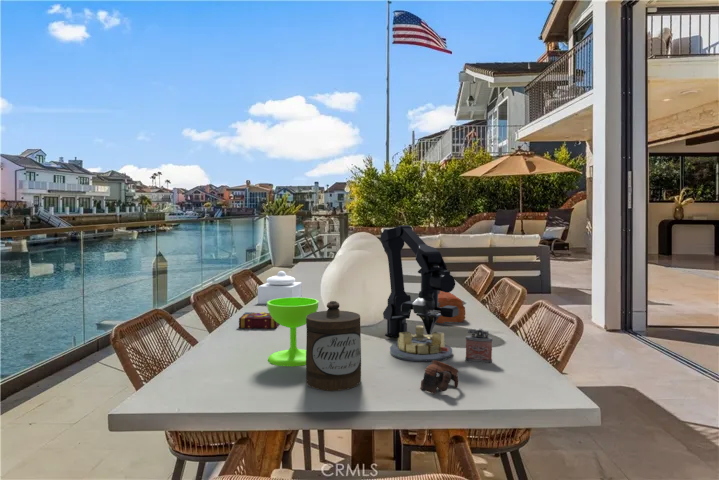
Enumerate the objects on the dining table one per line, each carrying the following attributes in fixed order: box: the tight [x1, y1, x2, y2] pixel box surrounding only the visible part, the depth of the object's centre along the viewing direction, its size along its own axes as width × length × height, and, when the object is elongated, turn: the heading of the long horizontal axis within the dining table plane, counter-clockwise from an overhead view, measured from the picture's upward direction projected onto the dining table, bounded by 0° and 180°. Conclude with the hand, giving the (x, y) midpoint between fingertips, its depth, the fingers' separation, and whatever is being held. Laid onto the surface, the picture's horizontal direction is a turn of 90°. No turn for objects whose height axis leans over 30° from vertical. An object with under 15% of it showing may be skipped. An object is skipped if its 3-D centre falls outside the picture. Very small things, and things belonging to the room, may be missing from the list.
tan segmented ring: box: [397, 325, 449, 354], centre depth 167 cm, size 17×15×6 cm
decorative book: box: [238, 311, 280, 330], centre depth 208 cm, size 11×16×5 cm
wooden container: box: [305, 300, 362, 392], centre depth 140 cm, size 15×15×22 cm
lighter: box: [464, 328, 493, 364], centre depth 159 cm, size 8×3×10 cm, turn 71°
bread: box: [436, 291, 466, 324], centre depth 226 cm, size 16×27×11 cm, turn 5°
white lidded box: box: [257, 270, 303, 305], centre depth 264 cm, size 18×18×16 cm
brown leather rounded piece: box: [419, 360, 459, 395], centre depth 134 cm, size 12×10×8 cm
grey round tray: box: [389, 338, 453, 363], centre depth 168 cm, size 20×20×4 cm
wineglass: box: [266, 297, 320, 368], centre depth 161 cm, size 16×16×18 cm
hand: (429, 334), depth 173 cm, fingers closed
